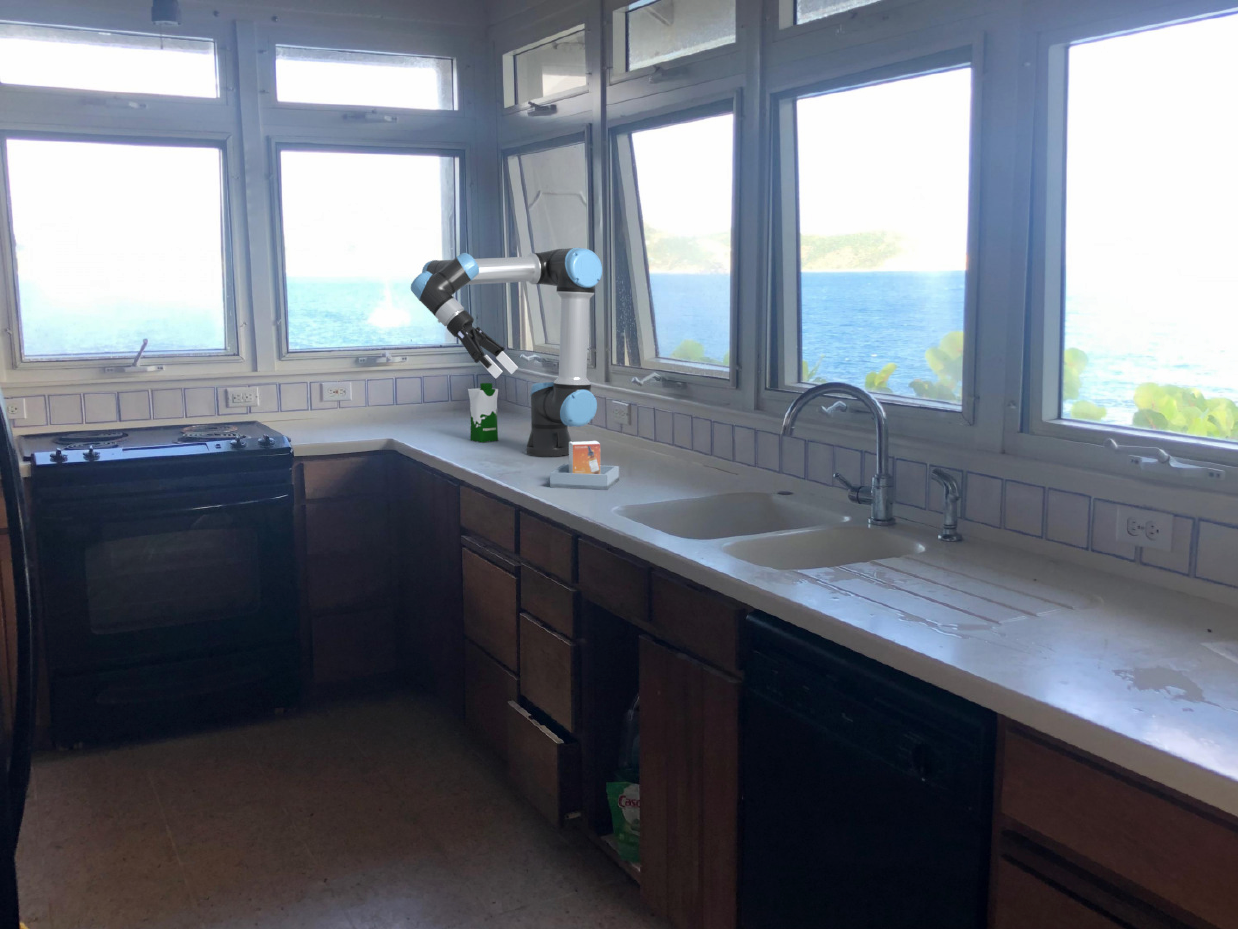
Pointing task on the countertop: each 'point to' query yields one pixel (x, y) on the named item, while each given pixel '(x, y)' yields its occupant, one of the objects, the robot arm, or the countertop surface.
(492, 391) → the milk carton
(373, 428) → the countertop surface
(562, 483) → the tray
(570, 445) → the small box
